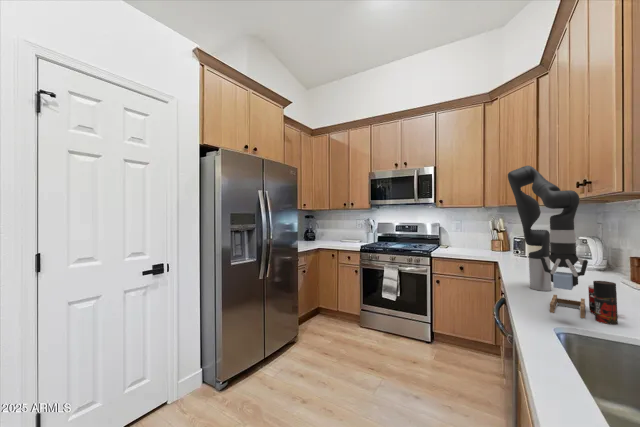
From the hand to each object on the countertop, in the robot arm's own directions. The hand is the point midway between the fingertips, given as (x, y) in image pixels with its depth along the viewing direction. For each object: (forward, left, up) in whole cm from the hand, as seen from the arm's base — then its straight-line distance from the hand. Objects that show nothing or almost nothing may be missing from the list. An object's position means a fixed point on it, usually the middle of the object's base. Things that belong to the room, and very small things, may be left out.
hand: (564, 284), depth 103 cm
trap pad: (-23, 0, -14) cm, 27 cm away
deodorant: (-9, +11, -14) cm, 20 cm away
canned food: (-20, +10, -14) cm, 27 cm away
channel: (-17, 0, -14) cm, 22 cm away
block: (+2, 0, -1) cm, 2 cm away
